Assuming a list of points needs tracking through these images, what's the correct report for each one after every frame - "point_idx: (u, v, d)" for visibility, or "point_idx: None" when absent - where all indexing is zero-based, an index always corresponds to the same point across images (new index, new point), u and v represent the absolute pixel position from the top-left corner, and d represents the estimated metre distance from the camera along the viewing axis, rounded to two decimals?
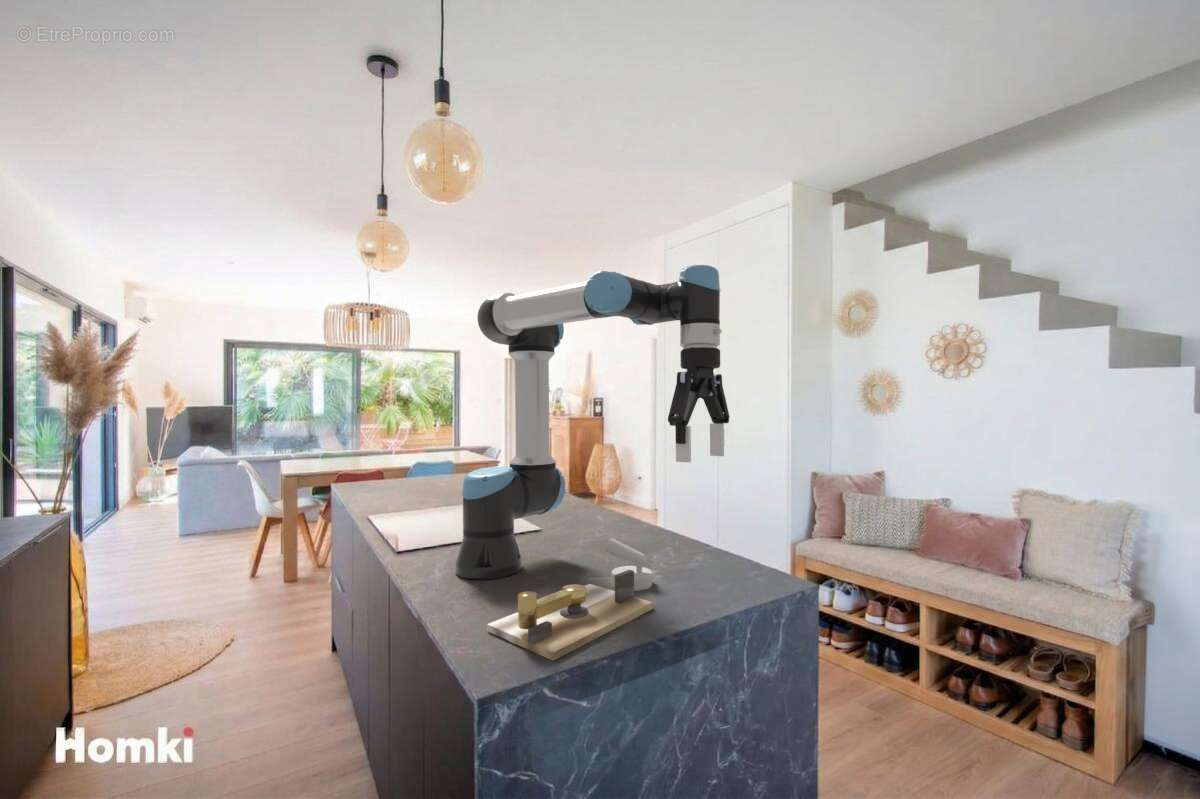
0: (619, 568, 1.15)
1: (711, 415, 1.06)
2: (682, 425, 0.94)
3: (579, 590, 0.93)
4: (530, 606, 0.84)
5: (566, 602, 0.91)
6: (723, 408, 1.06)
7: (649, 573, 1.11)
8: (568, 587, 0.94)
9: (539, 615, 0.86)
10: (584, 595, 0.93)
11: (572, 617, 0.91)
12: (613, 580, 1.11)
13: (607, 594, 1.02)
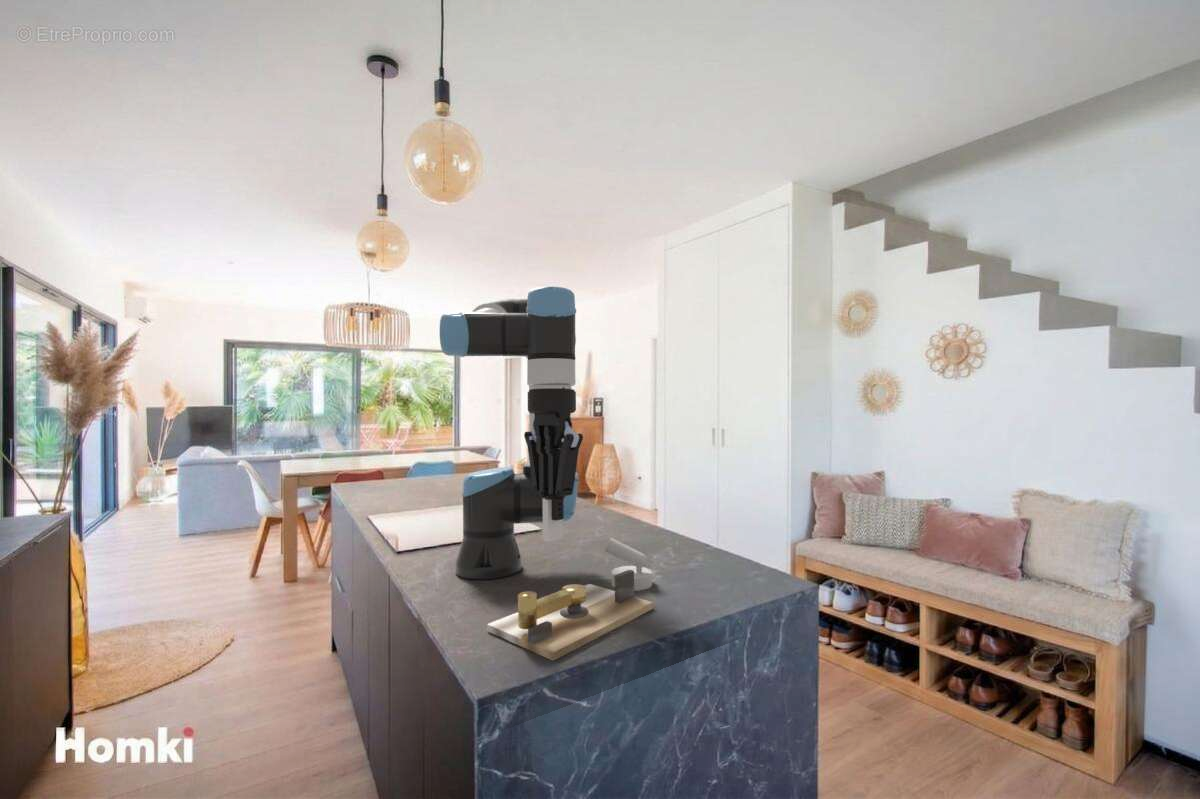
0: (619, 568, 1.15)
1: (545, 482, 0.82)
2: None
3: (579, 590, 0.93)
4: (530, 606, 0.84)
5: (566, 602, 0.91)
6: None
7: (649, 573, 1.11)
8: (568, 587, 0.94)
9: (539, 615, 0.86)
10: (584, 595, 0.93)
11: (572, 617, 0.91)
12: (613, 580, 1.11)
13: (607, 594, 1.02)
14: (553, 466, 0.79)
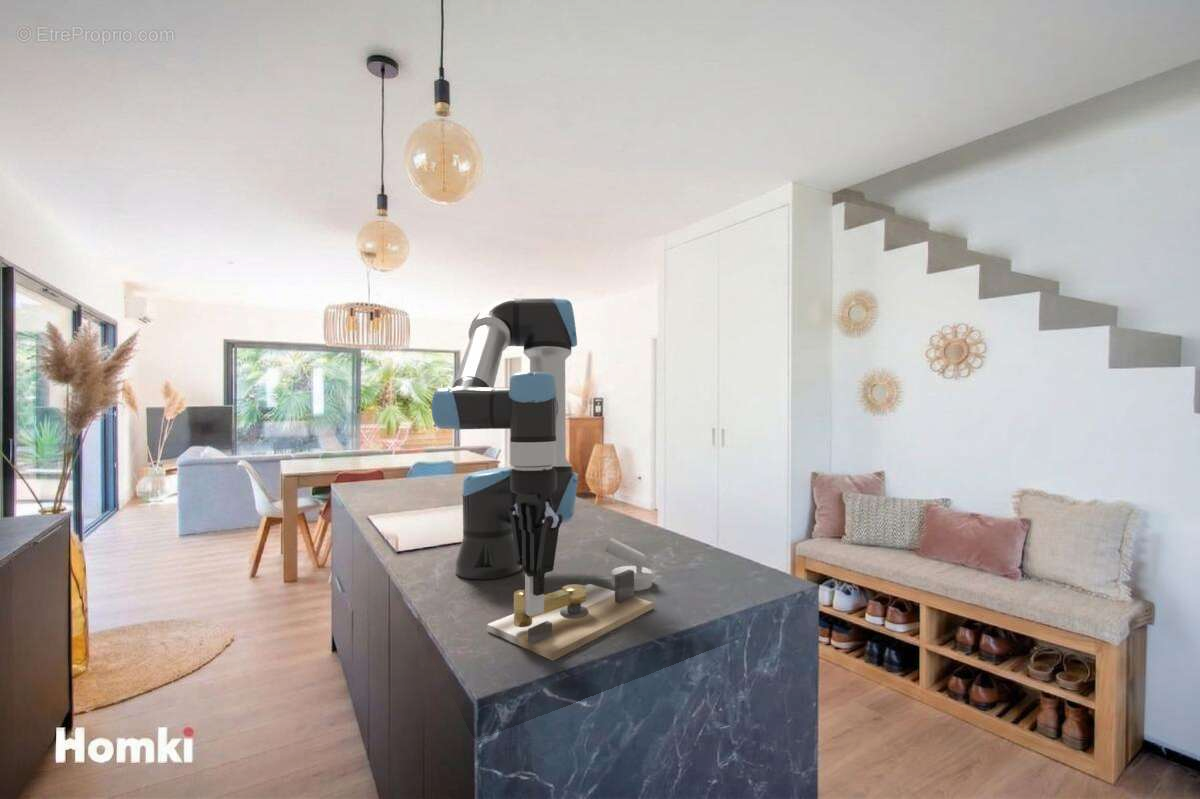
0: (619, 568, 1.15)
1: (527, 557, 0.85)
2: (542, 574, 0.85)
3: (578, 590, 0.92)
4: None
5: (564, 602, 0.91)
6: None
7: (649, 573, 1.11)
8: (568, 587, 0.94)
9: None
10: (583, 596, 0.92)
11: (572, 617, 0.91)
12: (613, 580, 1.11)
13: (607, 594, 1.02)
14: (534, 544, 0.83)
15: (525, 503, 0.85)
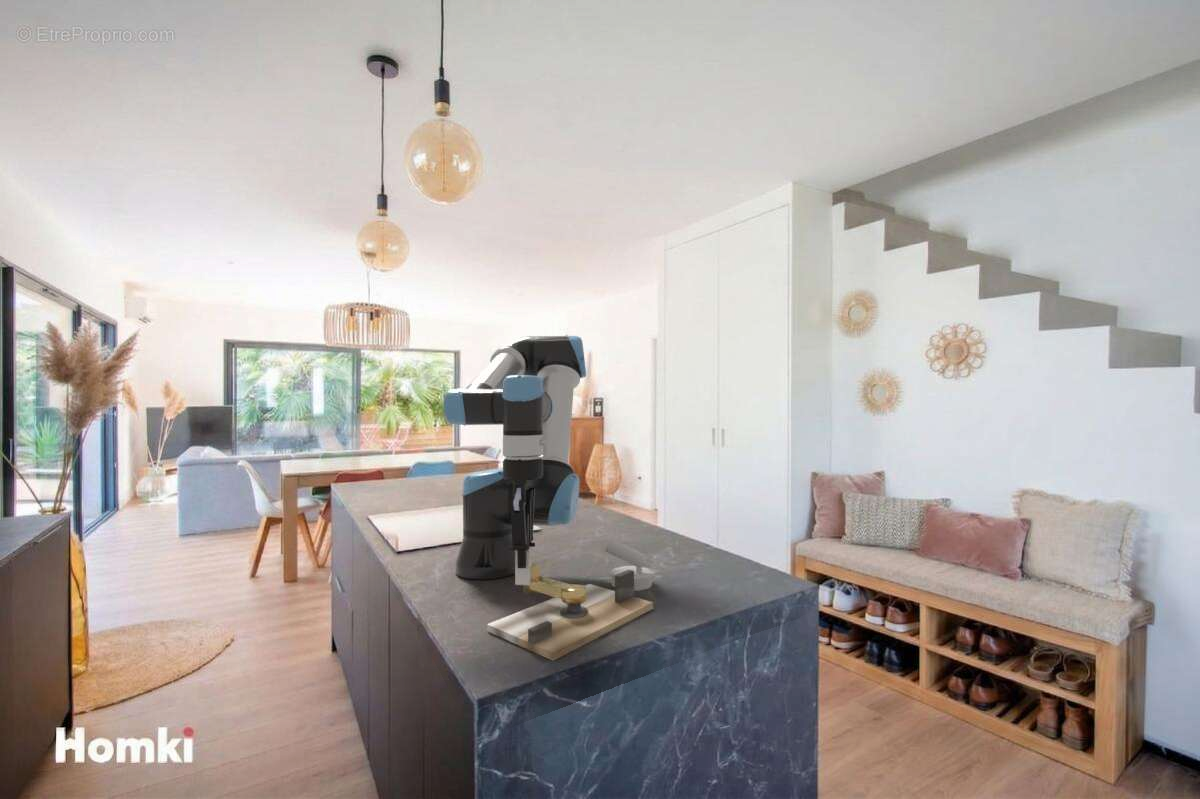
0: (619, 568, 1.15)
1: None
2: (525, 551, 0.97)
3: (567, 590, 0.93)
4: None
5: (556, 593, 0.95)
6: (530, 525, 1.01)
7: (649, 573, 1.11)
8: (576, 586, 0.95)
9: (532, 587, 0.99)
10: (567, 597, 0.92)
11: (572, 617, 0.91)
12: (613, 580, 1.11)
13: (607, 594, 1.02)
14: None
15: None
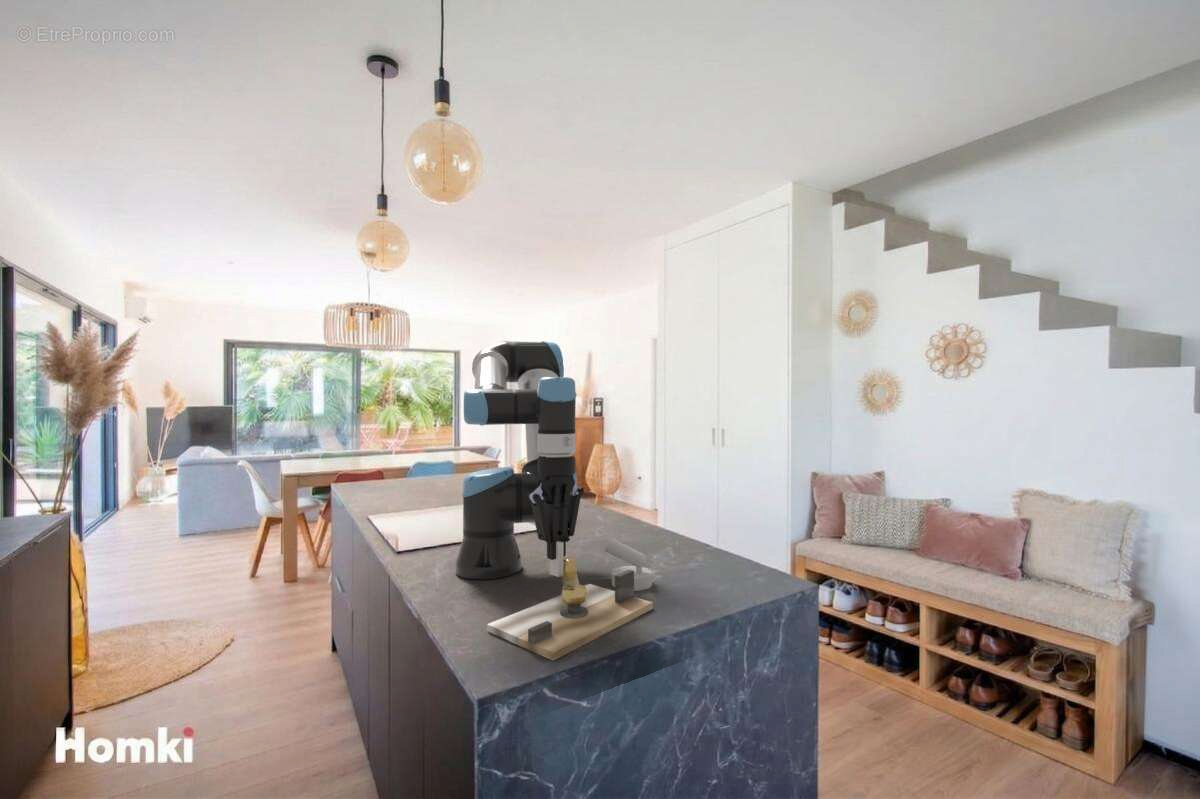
0: (619, 568, 1.15)
1: None
2: (553, 543, 1.02)
3: (565, 588, 0.94)
4: None
5: None
6: (570, 521, 1.05)
7: (649, 573, 1.11)
8: (579, 587, 0.94)
9: (563, 580, 1.03)
10: (562, 594, 0.93)
11: (572, 617, 0.91)
12: (613, 580, 1.11)
13: (607, 594, 1.02)
14: (545, 515, 1.03)
15: None
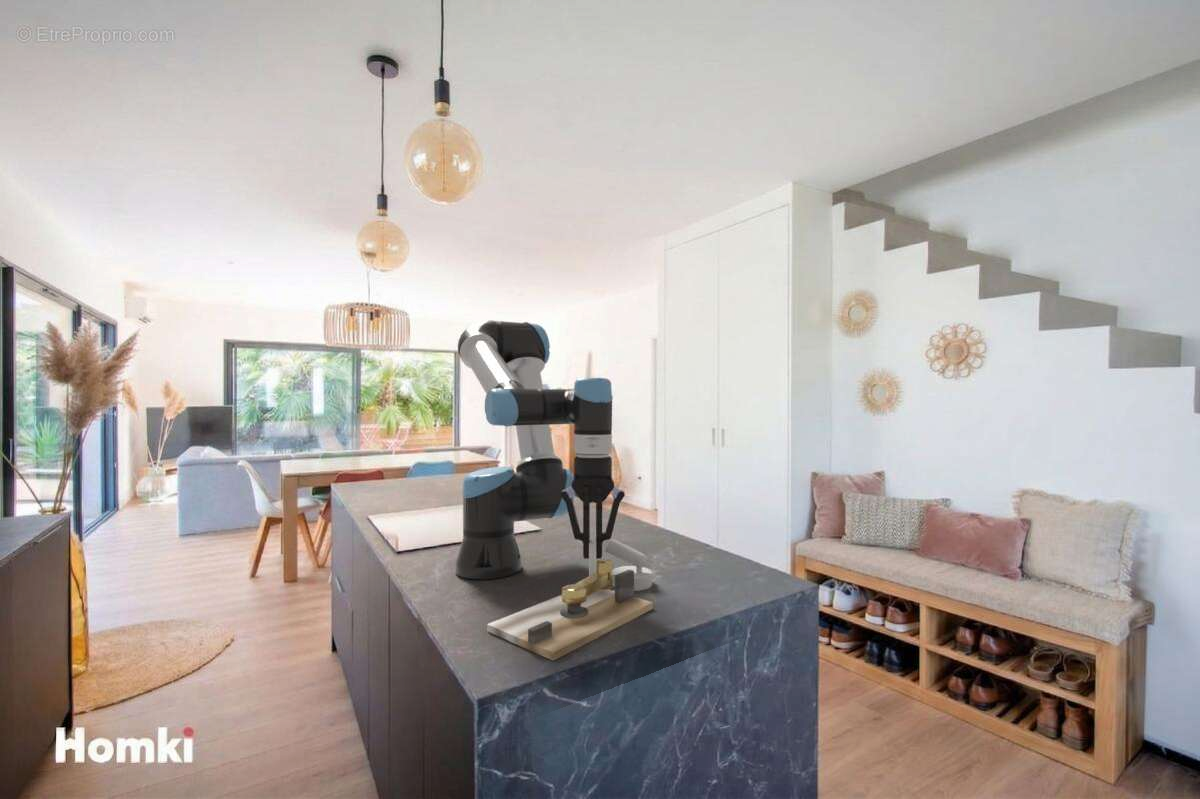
0: (619, 568, 1.15)
1: None
2: (585, 543, 1.03)
3: (567, 586, 0.95)
4: None
5: None
6: (607, 524, 1.03)
7: (649, 573, 1.11)
8: (580, 588, 0.93)
9: None
10: None
11: (572, 617, 0.91)
12: (613, 580, 1.11)
13: (607, 594, 1.02)
14: None
15: None
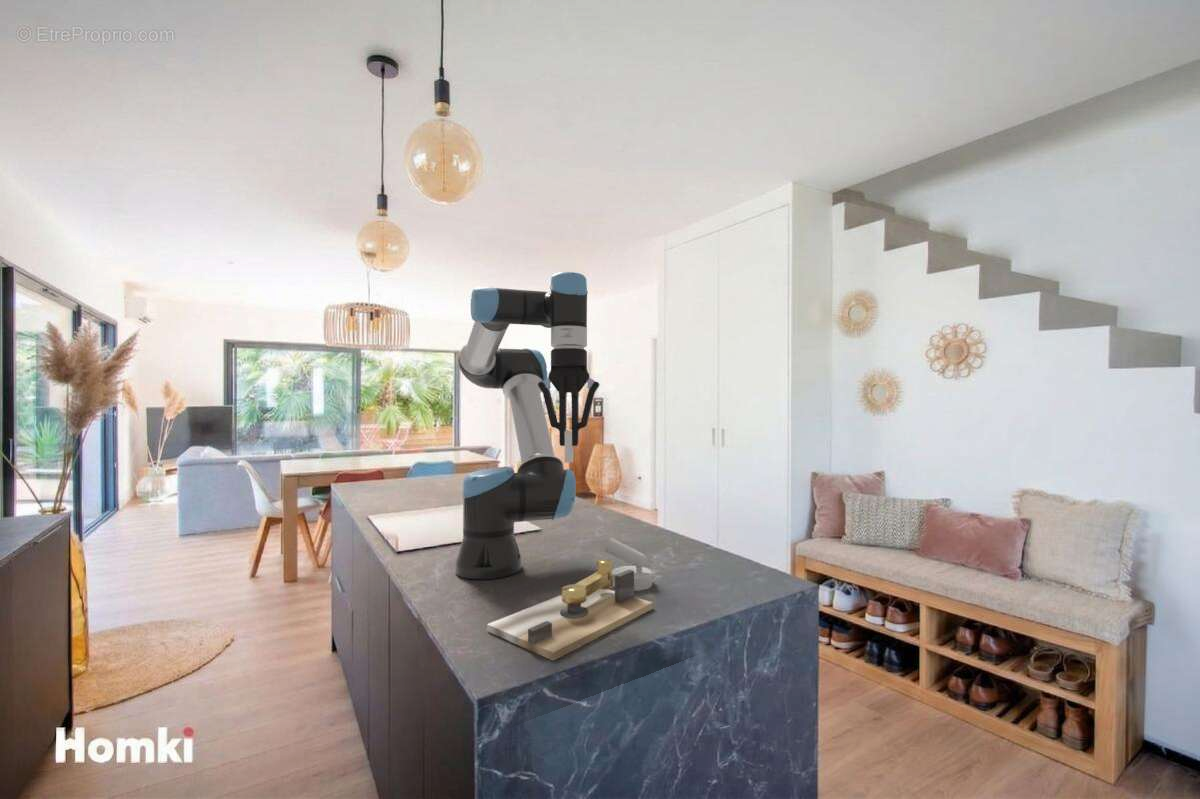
0: (619, 568, 1.15)
1: None
2: (561, 431, 1.09)
3: (567, 586, 0.95)
4: None
5: None
6: (583, 413, 1.08)
7: (649, 573, 1.11)
8: (580, 588, 0.93)
9: None
10: None
11: (572, 617, 0.91)
12: (613, 580, 1.11)
13: (607, 594, 1.02)
14: None
15: None
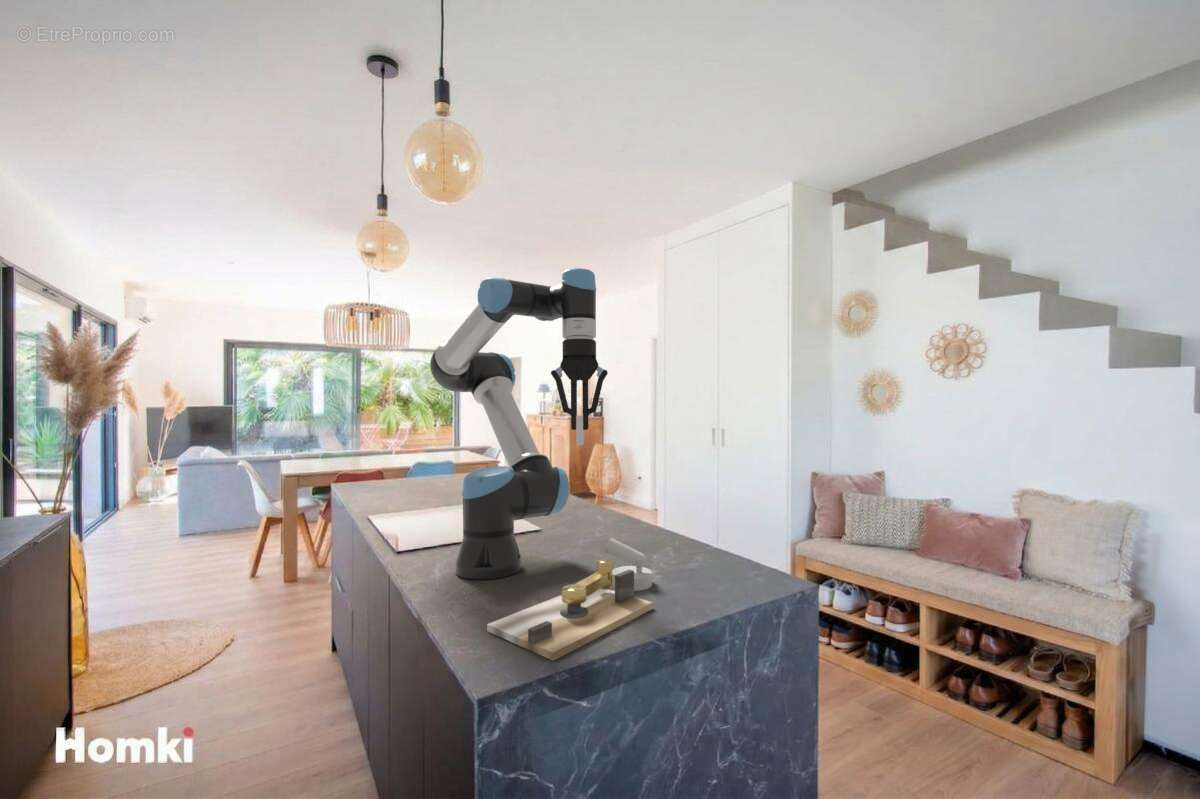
0: (619, 568, 1.15)
1: None
2: (573, 416, 1.17)
3: (567, 586, 0.95)
4: None
5: None
6: (593, 399, 1.17)
7: (649, 573, 1.11)
8: (580, 588, 0.93)
9: None
10: None
11: (572, 617, 0.91)
12: (613, 580, 1.11)
13: (607, 594, 1.02)
14: None
15: None
